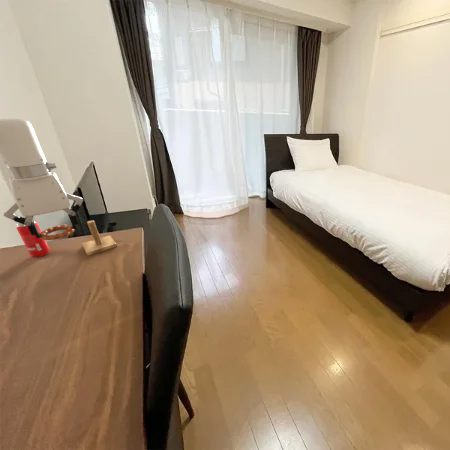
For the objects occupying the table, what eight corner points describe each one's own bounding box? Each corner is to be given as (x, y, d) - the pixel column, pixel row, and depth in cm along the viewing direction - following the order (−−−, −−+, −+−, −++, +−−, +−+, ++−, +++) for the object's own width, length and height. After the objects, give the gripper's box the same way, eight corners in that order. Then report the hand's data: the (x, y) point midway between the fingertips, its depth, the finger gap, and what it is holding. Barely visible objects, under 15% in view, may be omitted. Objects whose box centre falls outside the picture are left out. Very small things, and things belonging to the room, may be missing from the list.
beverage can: (27, 256, 94) (11, 225, 88) (43, 249, 98) (28, 219, 93) (38, 259, 92) (23, 227, 87) (54, 251, 97) (40, 221, 92)
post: (87, 255, 94) (77, 229, 90) (82, 246, 100) (72, 221, 96) (117, 246, 100) (108, 221, 96) (110, 237, 106) (102, 214, 101)
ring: (41, 243, 73) (39, 239, 72) (39, 233, 78) (37, 229, 77) (76, 234, 77) (74, 230, 77) (73, 226, 82) (71, 221, 82)
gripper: (70, 162, 77) (91, 219, 85) (-18, 174, 66) (15, 237, 74) (74, 167, 72) (96, 227, 80) (-21, 180, 61) (15, 247, 69)
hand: (57, 231), depth 77 cm, fingers closed on ring, 7 cm apart
